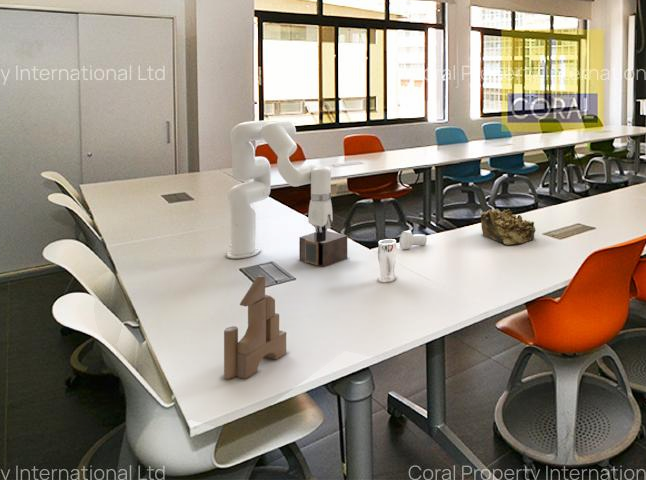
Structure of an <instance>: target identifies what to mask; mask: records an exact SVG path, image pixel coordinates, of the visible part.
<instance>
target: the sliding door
mask: <svg viewBox="0 0 646 480" xmlns="http://www.w3.org/2000/svg"><path fill="white" fill-rule="evenodd" d="M313 233H314V241H311V240H307V239H305V261H304V262H305V263H307V264H312V265H314V266H318V265H319V242H317V232H316V231H315V232H313Z"/></svg>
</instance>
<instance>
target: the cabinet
mask: <svg viewBox="0 0 646 480" xmlns="http://www.w3.org/2000/svg"><path fill="white" fill-rule="evenodd" d="M305 239H307V240H311V241H314V232H312V233H309V234H306V235H302V236H299V247H298V248H299V254H298V255H299V261H301V262H305ZM347 259H348V235H347V234H342V233H337V232H333V231H329V230H327V231H326V240H325V241H322V242H319V265H317V266H319V267H323V268H325V267H328V266H330V265H333V264H335V263H339V262H341V261H344V260H347Z"/></svg>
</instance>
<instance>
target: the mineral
mask: <svg viewBox="0 0 646 480" xmlns="http://www.w3.org/2000/svg"><path fill="white" fill-rule="evenodd" d="M480 225H481V231H482V236H484V237H486V238H489V239H491V240H493V241H495V242H499V243H500V244H503V245H507V246H508V245H516V244H523V243H527V242H529V241H532V240H535V232H536V227H535V221H530V220H527V219H523V216H521V214H517V215H516V214H515V213H514V214H513V211H511V209H510V208H508V209H503V210H502V211H501V210H500V209H499V208H496V209H493V210H492V209H488V210H487V211H481V214H480Z"/></svg>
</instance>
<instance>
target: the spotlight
mask: <svg viewBox="0 0 646 480" xmlns="http://www.w3.org/2000/svg"><path fill="white" fill-rule="evenodd" d="M427 241H428V239H427V236H426V234H413V232H412V231H411V230H403V231H402V232H401V233H400V235H399V247H400V249H402V250H410V249H411V248H412V246H426V244H427Z"/></svg>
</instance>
